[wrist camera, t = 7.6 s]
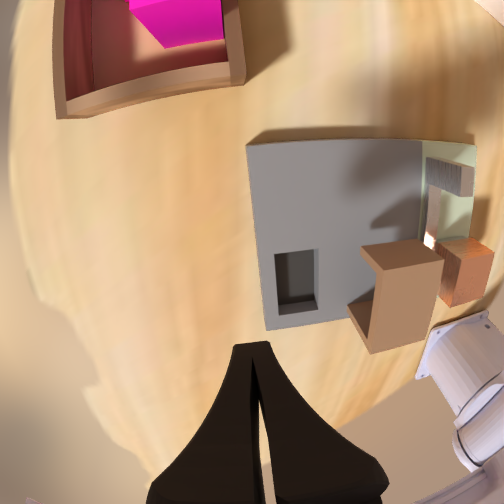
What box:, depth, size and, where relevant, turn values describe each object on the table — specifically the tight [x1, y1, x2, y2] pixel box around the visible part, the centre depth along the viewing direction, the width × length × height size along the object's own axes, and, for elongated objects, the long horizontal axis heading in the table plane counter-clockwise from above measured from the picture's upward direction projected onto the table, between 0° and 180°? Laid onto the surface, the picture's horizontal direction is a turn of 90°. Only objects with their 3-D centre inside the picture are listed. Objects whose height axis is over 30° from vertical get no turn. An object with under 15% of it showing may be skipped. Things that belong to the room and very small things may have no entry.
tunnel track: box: [246, 138, 477, 354], centre depth 18 cm, size 18×13×6 cm
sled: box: [420, 157, 495, 308], centre depth 17 cm, size 8×10×4 cm
